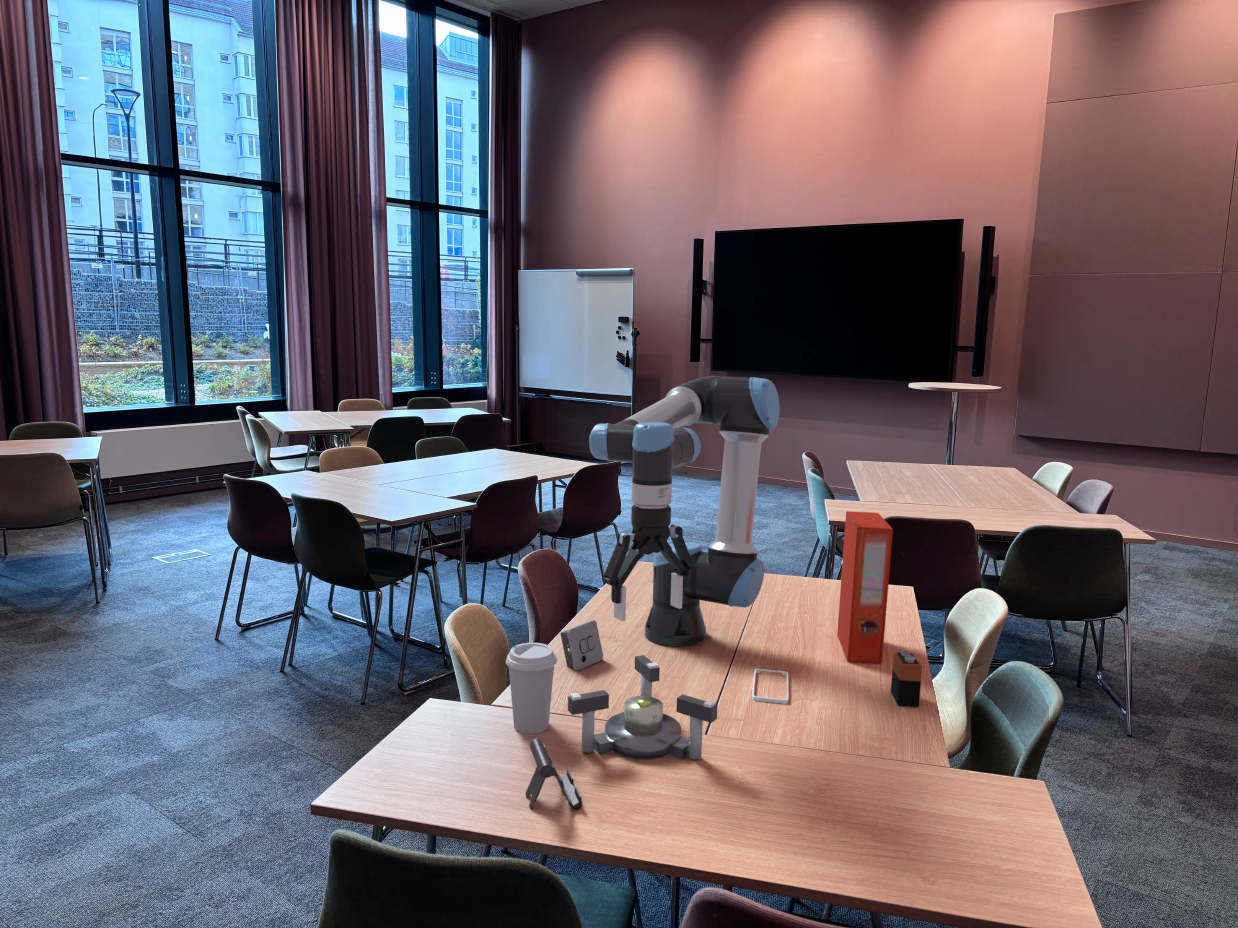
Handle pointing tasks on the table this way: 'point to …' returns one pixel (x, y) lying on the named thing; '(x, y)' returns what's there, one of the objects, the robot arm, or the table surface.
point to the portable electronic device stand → (548, 770)
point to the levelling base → (642, 743)
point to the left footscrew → (696, 720)
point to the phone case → (765, 699)
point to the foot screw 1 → (588, 713)
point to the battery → (906, 679)
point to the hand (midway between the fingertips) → (648, 612)
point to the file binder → (864, 587)
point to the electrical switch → (582, 645)
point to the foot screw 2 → (647, 673)
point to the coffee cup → (531, 685)
